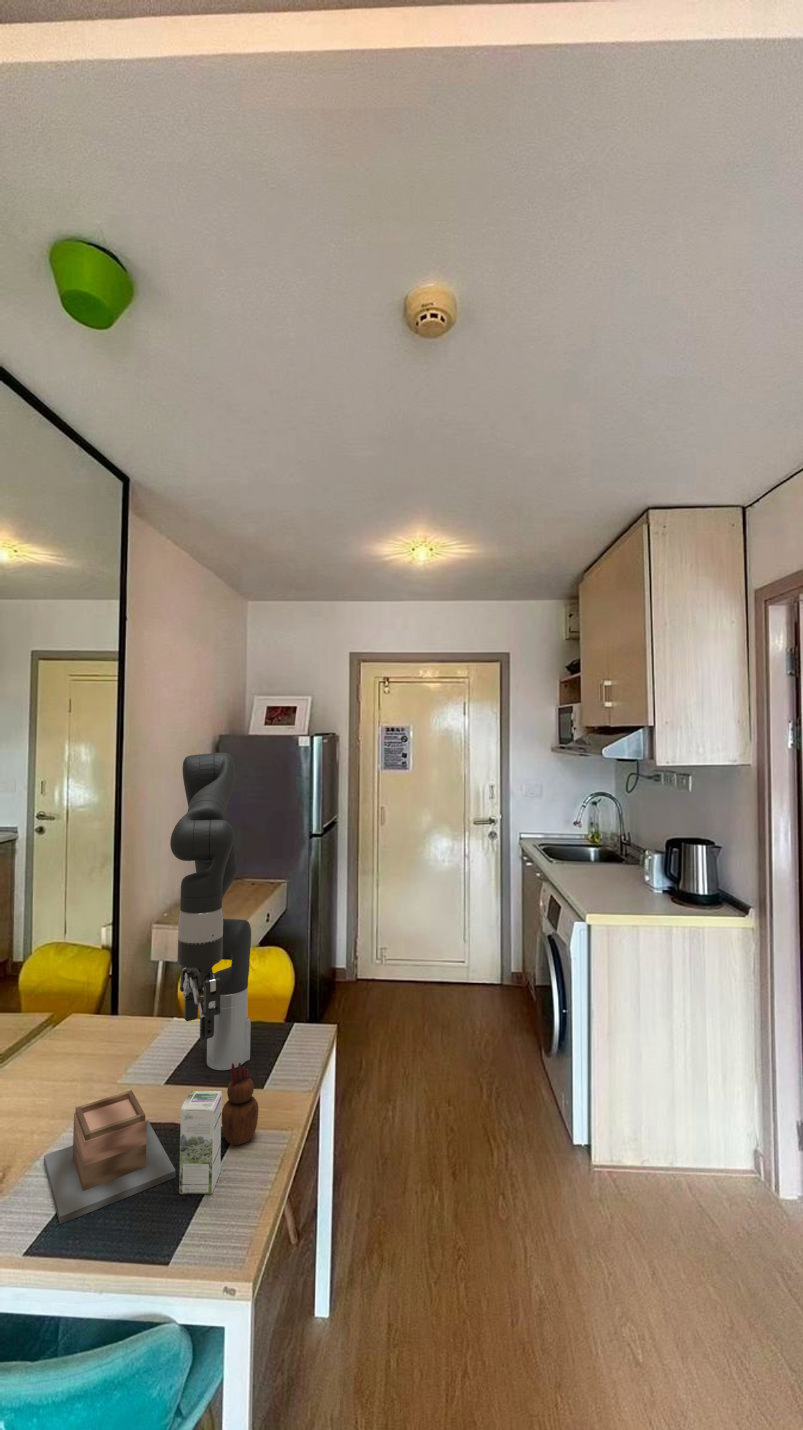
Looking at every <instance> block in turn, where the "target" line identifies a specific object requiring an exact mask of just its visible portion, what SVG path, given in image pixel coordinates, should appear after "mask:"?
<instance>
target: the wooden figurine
mask: <svg viewBox="0 0 803 1430" xmlns="http://www.w3.org/2000/svg"><path fill="white" fill-rule="evenodd" d="M245 1067H246V1066H245V1065H244V1066H242V1065H241V1063H239V1064H238V1067H237V1069H236V1068H235V1066H234V1064H233V1063H232V1069H231V1077H230V1082H229V1083H228V1085H227V1090H226V1095H227V1099H228V1100H227V1101H226V1102H225V1104H223V1106H222V1112H221V1129H222V1132H223V1135H224V1138H225V1140H226V1142H227V1143H228V1144H229V1145H234V1146H239V1145H243V1144H246V1143H247V1142H249V1141H250V1140H251V1139H252V1138H253V1137H254V1134H255V1133H256V1129H257V1126H258V1119H259V1104H258V1101H257V1099H256V1098H255V1096H254V1095H253V1094H254V1090H255V1085H254V1081H253V1080H252V1079H251V1078H250V1072H249V1069H248V1068H246V1069H245ZM236 1070H237V1071H236Z"/></svg>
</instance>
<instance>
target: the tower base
mask: <svg viewBox="0 0 803 1430" xmlns="http://www.w3.org/2000/svg"><path fill="white" fill-rule="evenodd" d="M72 1130H73V1136H72V1145H70V1146H67V1147H64V1148H62V1149H61V1148H60V1149H59V1150H56V1151H53V1152H50V1153H46V1154H44V1155H43V1163H44V1166H45V1167H44V1168H45V1172H46V1176H47V1179H48V1184H49V1188H50V1192H51V1196H52V1199H53V1204H54V1208H55V1211H56V1216H57V1219H58V1223H59V1225H62V1224H65V1223H68V1222H69V1221H72V1220H75V1219H77V1218H80V1217H82V1216H84V1215H87V1214H89V1213H92V1212H94V1211H97V1210H98V1209H102V1208H105V1207H106V1206H109V1205H112V1204H114V1203H117V1202H119V1201H122V1200H124V1199H126V1198H128V1197H132V1196H133V1195H136V1194H138V1193H142V1192H144V1191H146V1190H149V1189H151V1188H153V1187H156V1186H159V1185H161V1184H163V1183H166V1182H169V1181H170V1180H173V1179H175V1178H176V1173H177V1172H176V1168H175V1166H174V1165H173V1163H172V1161H171V1160H170V1157H169V1156H168V1154H167V1152H166V1150H165V1148H164V1147H163V1145H162V1143H161V1141H160V1139H159V1137H158V1136H157V1134H156V1132H155V1130H154V1129H153V1127H152V1125H151V1123H150V1121H149V1119H146V1113H145V1111H144V1110H143V1107H142V1106H141V1105H140V1102H139V1100H138V1098H137V1097H136V1095H135V1092H134V1091H133V1090H132V1089H131V1090H128V1091H125V1092H121V1093H118V1094H115V1095H112V1096H111V1095H110V1096H109V1097H105V1098H103V1099H99V1100H96V1101H92V1102H89V1103H86V1104H83V1105H79V1106H76V1107H75V1111H74V1112H73V1129H72Z"/></svg>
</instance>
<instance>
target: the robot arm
mask: <svg viewBox="0 0 803 1430" xmlns="http://www.w3.org/2000/svg"><path fill="white" fill-rule="evenodd" d="M235 767H236V766H235V762H234V759H233V757H232V755H230V754H229V753H227V752H212V753H211V752H210V753H201V754H200V753H199V754H191V755H187V756H185V758H184V760H183V761H182V778H183V779H182V780H183V786H184V792H185V797H186V802H187V811H186V814H184V815H183V816H182V817H181V818H180V819H179V820H178V822H176V824H175V826H174V827H173V830H172V833H171V835H170V836H171V837H170V843H169V844H170V850H171V853H172V854H173V856H174V857H175V858H177V859H178V860H180V861H184V862H194V866H195V872H194V873H190V874H187V875H185V876H184V877H183V878H182V880H181V885H180V905H179V906H180V911H179V917H178V925H177V926H178V927H177V928H178V929H177V964H178V966H180V977H179V978H180V981H179V982H180V983H179V991H180V992H181V993H182V998H183V999H184V1014H183V1015H184V1016H183V1017H184V1018H183V1019H184V1020H185V1021H186V1022H191V1021H194V1020H197V1019H198V1017H199V1038H200V1039H201V1040H204V1041H205V1040H206V1065H207V1067H208V1068H209V1069H213V1070H215V1071H228V1070H232V1063H233V1064H234V1066H235V1069H237V1068H238V1064H239V1063H241V1066H242V1065H243V1064H244V1063H246V1062H247V1061H250V1060H251V1026H252V1025H251V1024H252V1023H251V1021H252V1020H251V1019H250V1017H249V1016H248V1007H249V1006H248V1003H249V1002H248V1001H249V998H248V997H249V996H248V995H249V976H250V975H249V974H250V966H251V965H250V962H251V961H250V959H251V946H252V945H251V944H252V927H251V924H250V922H249V921H248V920H246V919H236V918H235V919H234V918H224V917H223V915H224V914H223V898H224V897H225V894H226V893H227V892H228V890H229V888H230V887H231V884H232V883H233V882H234V880H235V877H236V875H237V872H238V863H237V862H238V861H237V853H236V845H235V842H234V841H235V840H234V839H235V832H234V829H233V827H232V825H231V824H230V823H229V822H228V820H225V819H226V809H227V804H228V802H229V800H230V799H231V796H232V793H233V791H234V789H235V785H236V768H235ZM222 960H224V961H225V960H227V961H231V964H230V965H231V966H229V967H227V968H223V969H220V970H218V971H215V972H214V970H213V967H214V966H215V965H216V964H218V963H220V962H221V961H222ZM198 1014H199V1015H198Z"/></svg>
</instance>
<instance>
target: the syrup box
mask: <svg viewBox="0 0 803 1430" xmlns="http://www.w3.org/2000/svg"><path fill="white" fill-rule="evenodd" d="M222 1092H223V1091H222V1090H198V1091H197V1090H191V1091H190V1092H189V1093H188V1094H187V1096H186V1098H185V1099H184V1102H183V1104H182V1106H181V1108H180V1124H179V1125H180V1129H179V1130H180V1134H179V1135H180V1136H179V1137H180V1138H179V1180H178V1181H179V1186H178V1187H179V1189H178V1194H179V1195H212V1194H213V1192H214V1189H215V1187H216V1184H217V1182H218V1179H219V1176H220V1173H221V1172H222V1171H221V1164H222V1163H221V1161H222V1160H221V1146H222V1145H221V1143H222V1140H221V1139H222V1138H221V1137H222V1110H223V1098H222V1097H223V1096H222V1095H223V1093H222Z"/></svg>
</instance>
